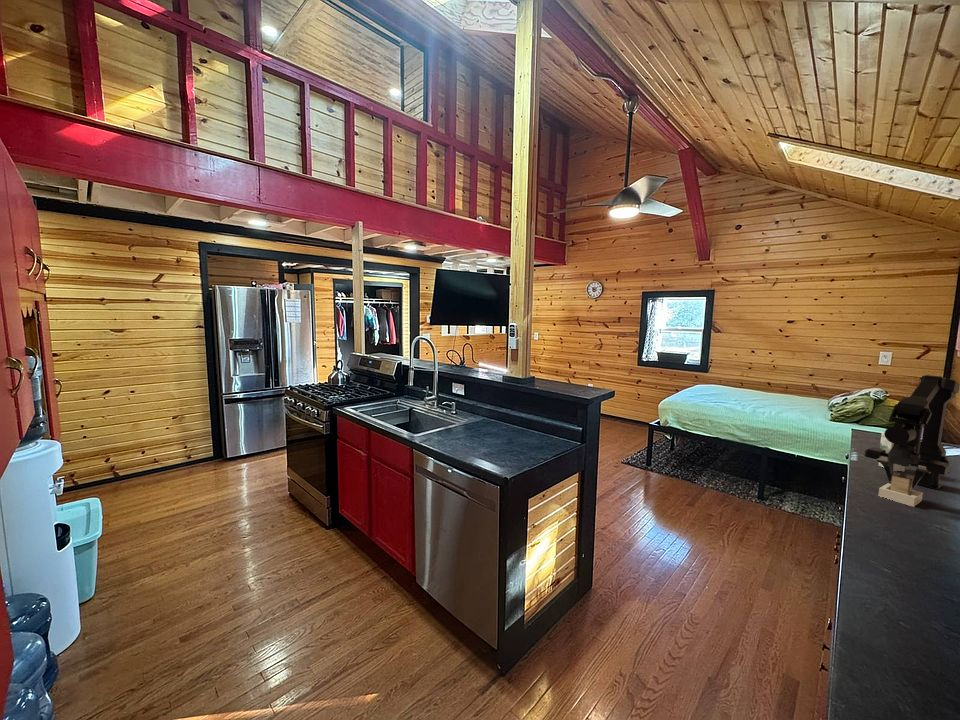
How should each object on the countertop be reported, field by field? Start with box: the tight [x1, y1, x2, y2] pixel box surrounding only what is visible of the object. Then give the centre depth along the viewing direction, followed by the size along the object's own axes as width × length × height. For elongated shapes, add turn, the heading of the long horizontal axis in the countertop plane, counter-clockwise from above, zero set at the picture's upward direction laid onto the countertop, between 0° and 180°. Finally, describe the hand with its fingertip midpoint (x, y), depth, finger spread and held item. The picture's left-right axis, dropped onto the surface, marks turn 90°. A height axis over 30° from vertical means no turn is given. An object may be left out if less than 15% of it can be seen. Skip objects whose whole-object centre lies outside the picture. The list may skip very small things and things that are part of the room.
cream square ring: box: [877, 482, 924, 508], centre depth 133 cm, size 8×8×3 cm
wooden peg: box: [890, 472, 914, 496], centre depth 133 cm, size 4×4×9 cm
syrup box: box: [877, 431, 906, 473], centre depth 159 cm, size 6×6×14 cm
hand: (901, 484), depth 133 cm, fingers open, 5 cm apart
